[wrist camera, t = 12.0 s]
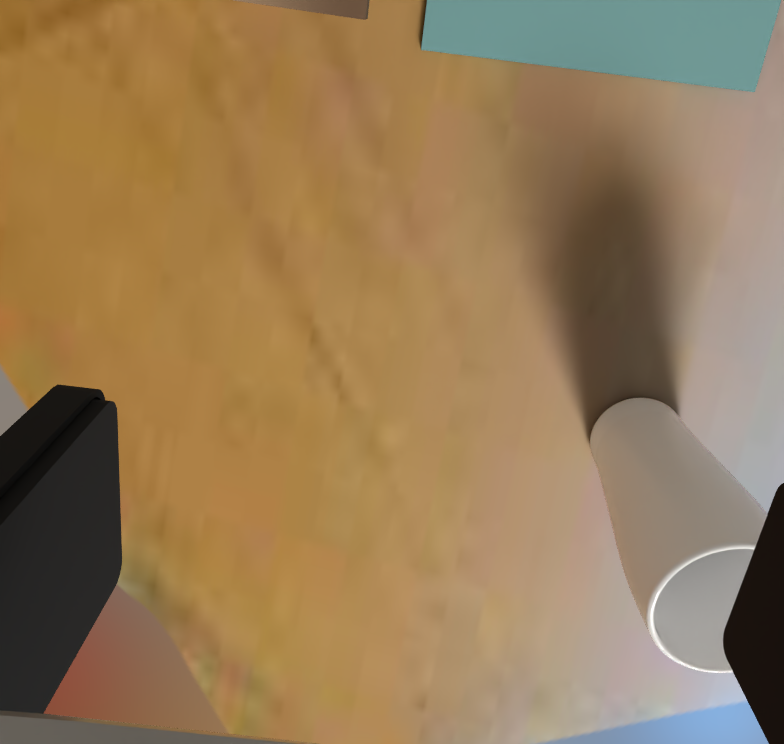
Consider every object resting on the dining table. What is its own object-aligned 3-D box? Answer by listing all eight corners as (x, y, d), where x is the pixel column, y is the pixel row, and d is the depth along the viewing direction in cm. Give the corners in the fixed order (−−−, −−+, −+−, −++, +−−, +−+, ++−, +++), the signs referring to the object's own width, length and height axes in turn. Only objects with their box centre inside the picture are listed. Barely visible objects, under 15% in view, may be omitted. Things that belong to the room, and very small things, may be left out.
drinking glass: (670, 362, 42) (791, 516, 28) (709, 457, 44) (839, 642, 30) (556, 411, 43) (620, 580, 30) (600, 501, 46) (678, 696, 32)
